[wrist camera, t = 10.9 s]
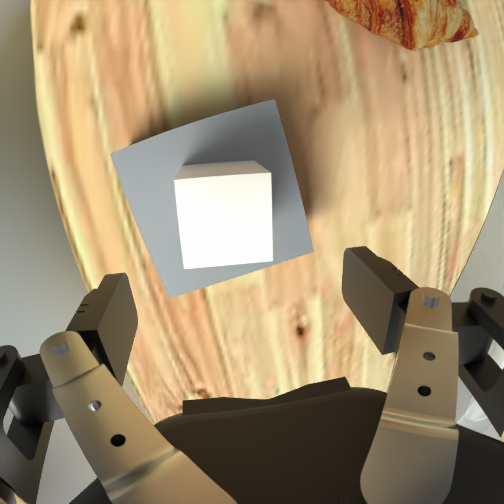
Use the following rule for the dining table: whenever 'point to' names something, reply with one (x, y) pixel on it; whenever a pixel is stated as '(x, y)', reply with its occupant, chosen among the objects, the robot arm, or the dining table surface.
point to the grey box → (201, 152)
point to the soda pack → (487, 276)
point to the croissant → (410, 20)
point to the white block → (224, 213)
